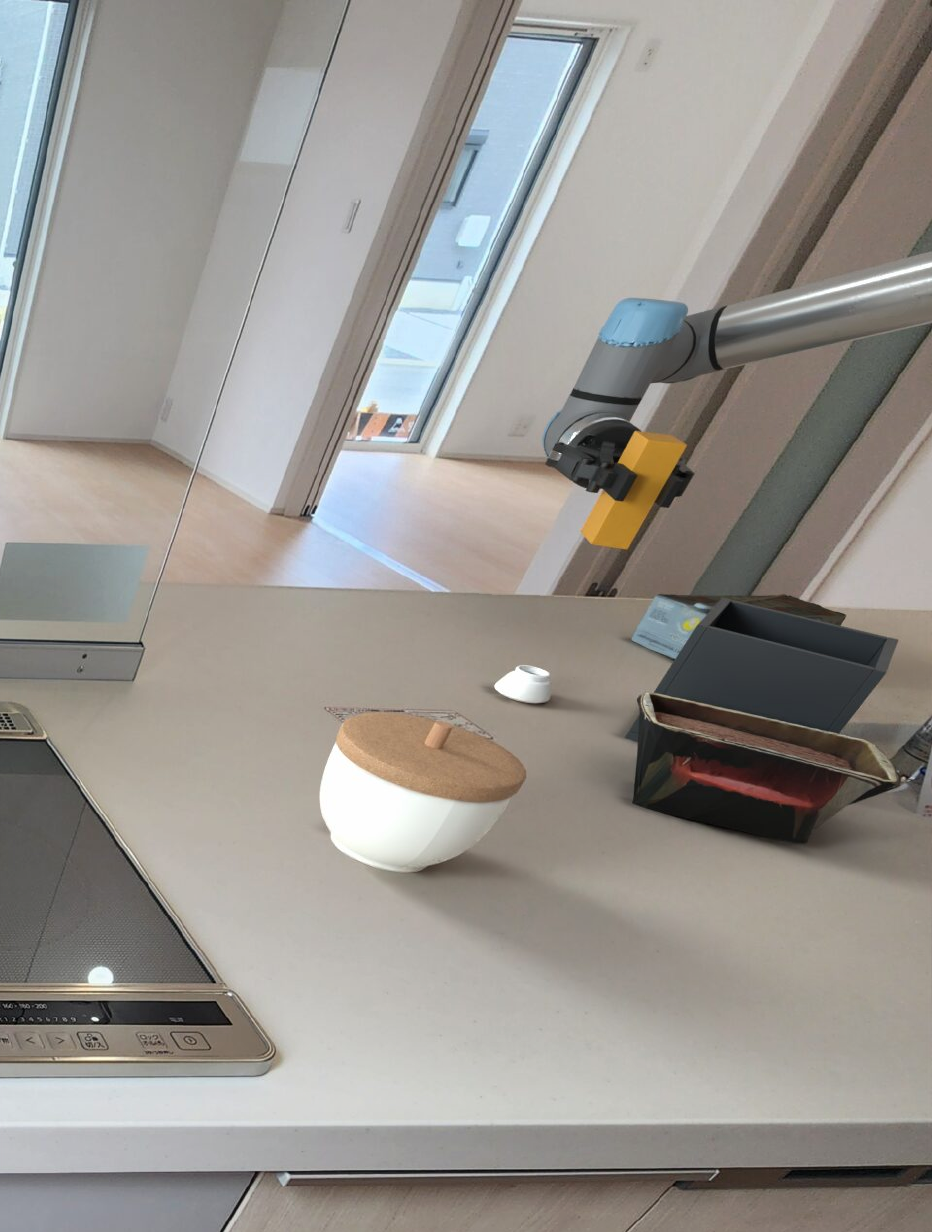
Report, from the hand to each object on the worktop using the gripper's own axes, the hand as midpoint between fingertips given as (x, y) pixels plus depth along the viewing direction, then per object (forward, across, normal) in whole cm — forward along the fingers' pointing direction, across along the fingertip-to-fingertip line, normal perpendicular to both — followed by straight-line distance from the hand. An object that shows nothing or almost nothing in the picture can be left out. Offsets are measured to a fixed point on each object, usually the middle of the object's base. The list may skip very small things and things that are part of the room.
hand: (648, 491), depth 114 cm
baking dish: (+36, -6, -19) cm, 41 cm away
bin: (+20, -11, -19) cm, 29 cm away
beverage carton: (-15, -20, -19) cm, 31 cm away
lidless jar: (+17, +6, -19) cm, 26 cm away
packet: (-5, 0, -6) cm, 8 cm away
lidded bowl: (+62, +23, -19) cm, 69 cm away
